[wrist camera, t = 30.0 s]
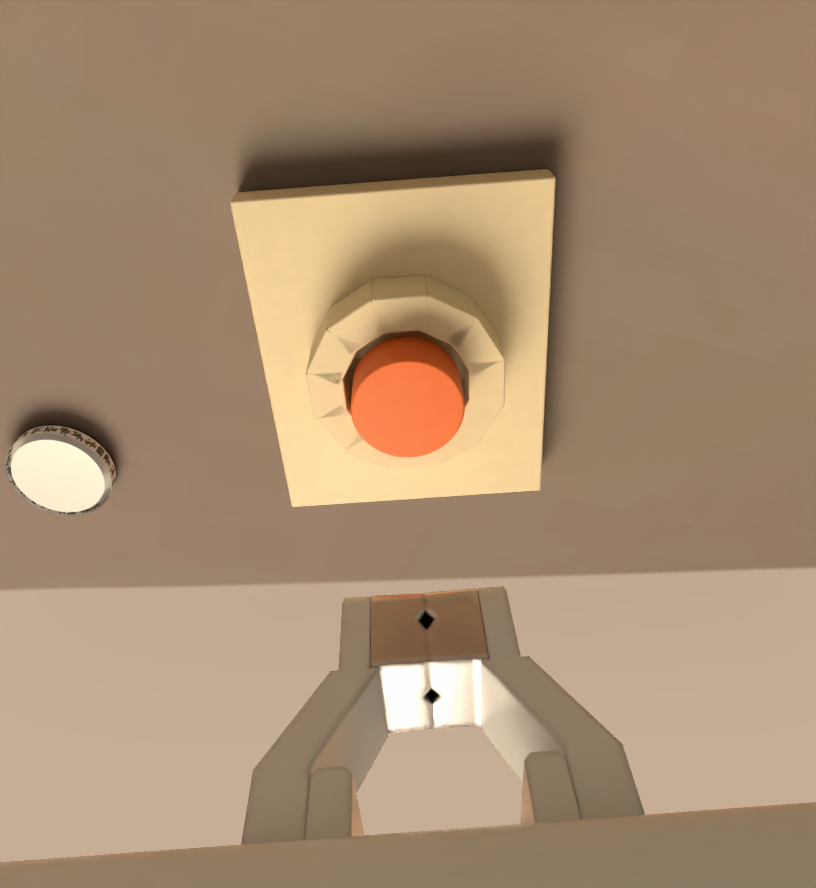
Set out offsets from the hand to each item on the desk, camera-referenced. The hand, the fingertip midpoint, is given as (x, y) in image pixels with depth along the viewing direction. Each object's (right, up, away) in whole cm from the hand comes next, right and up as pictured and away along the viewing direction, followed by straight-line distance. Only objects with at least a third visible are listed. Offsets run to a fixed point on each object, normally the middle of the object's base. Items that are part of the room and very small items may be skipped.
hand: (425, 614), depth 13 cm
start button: (0, +5, +10) cm, 12 cm away
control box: (0, +7, +13) cm, 14 cm away
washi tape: (-14, +2, +15) cm, 21 cm away
